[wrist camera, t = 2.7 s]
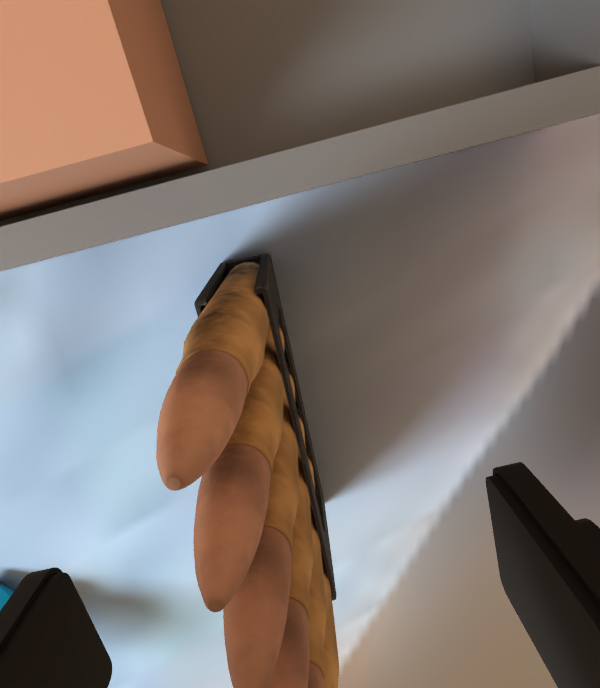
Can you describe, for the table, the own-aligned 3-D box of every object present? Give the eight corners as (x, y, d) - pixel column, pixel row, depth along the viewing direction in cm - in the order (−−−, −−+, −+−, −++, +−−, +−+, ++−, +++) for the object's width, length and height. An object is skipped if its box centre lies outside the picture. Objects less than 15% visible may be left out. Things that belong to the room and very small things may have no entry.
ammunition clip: (324, 504, 19) (383, 945, 8) (281, 512, 19) (278, 962, 8) (269, 252, 16) (235, 389, 5) (218, 263, 16) (59, 424, 5)
